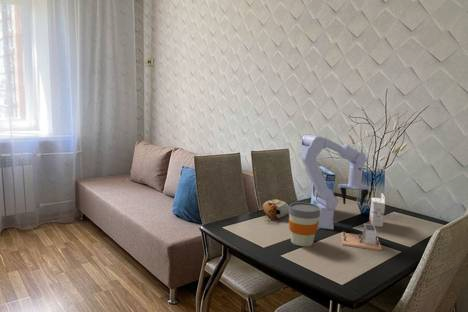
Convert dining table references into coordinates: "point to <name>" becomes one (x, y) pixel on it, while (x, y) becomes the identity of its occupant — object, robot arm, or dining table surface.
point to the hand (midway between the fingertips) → (352, 204)
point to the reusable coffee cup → (303, 223)
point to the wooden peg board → (358, 241)
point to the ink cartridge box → (377, 211)
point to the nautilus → (275, 209)
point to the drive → (369, 234)
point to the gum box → (329, 180)
